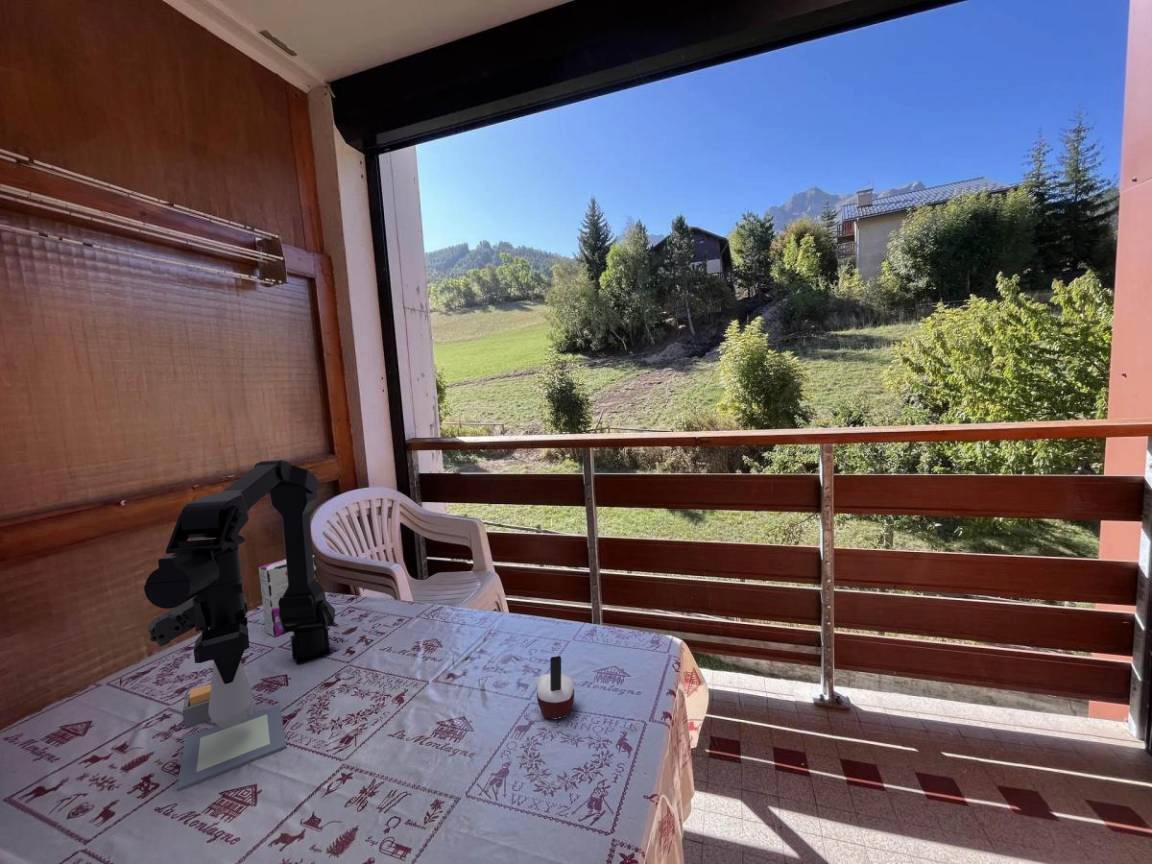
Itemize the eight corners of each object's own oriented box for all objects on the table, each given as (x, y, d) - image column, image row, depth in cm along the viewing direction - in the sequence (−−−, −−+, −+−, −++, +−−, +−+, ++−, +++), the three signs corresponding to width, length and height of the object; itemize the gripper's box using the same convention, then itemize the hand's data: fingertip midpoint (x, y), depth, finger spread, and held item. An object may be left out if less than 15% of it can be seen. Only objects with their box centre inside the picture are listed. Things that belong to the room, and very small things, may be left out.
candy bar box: (311, 614, 122) (305, 552, 121) (321, 618, 119) (316, 555, 118) (263, 633, 113) (257, 566, 112) (273, 638, 110) (267, 569, 109)
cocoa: (546, 697, 83) (541, 630, 83) (581, 699, 82) (576, 631, 82) (529, 732, 74) (523, 656, 74) (567, 735, 73) (561, 657, 73)
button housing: (221, 703, 86) (219, 686, 86) (220, 716, 82) (218, 698, 82) (187, 714, 83) (185, 696, 83) (184, 728, 79) (182, 710, 79)
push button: (213, 697, 84) (212, 683, 84) (213, 706, 82) (211, 691, 82) (192, 704, 83) (190, 690, 83) (190, 713, 80) (189, 698, 80)
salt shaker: (263, 711, 77) (256, 633, 76) (227, 735, 71) (218, 652, 70) (238, 705, 78) (230, 629, 78) (201, 728, 73) (192, 647, 72)
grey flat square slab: (280, 706, 84) (279, 703, 84) (286, 747, 73) (285, 744, 73) (185, 739, 76) (185, 736, 76) (177, 791, 66) (177, 787, 66)
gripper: (158, 577, 76) (168, 670, 77) (138, 617, 61) (152, 732, 62) (242, 560, 83) (251, 646, 84) (243, 593, 67) (254, 698, 69)
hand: (228, 677), depth 74 cm, fingers closed on salt shaker, 3 cm apart
